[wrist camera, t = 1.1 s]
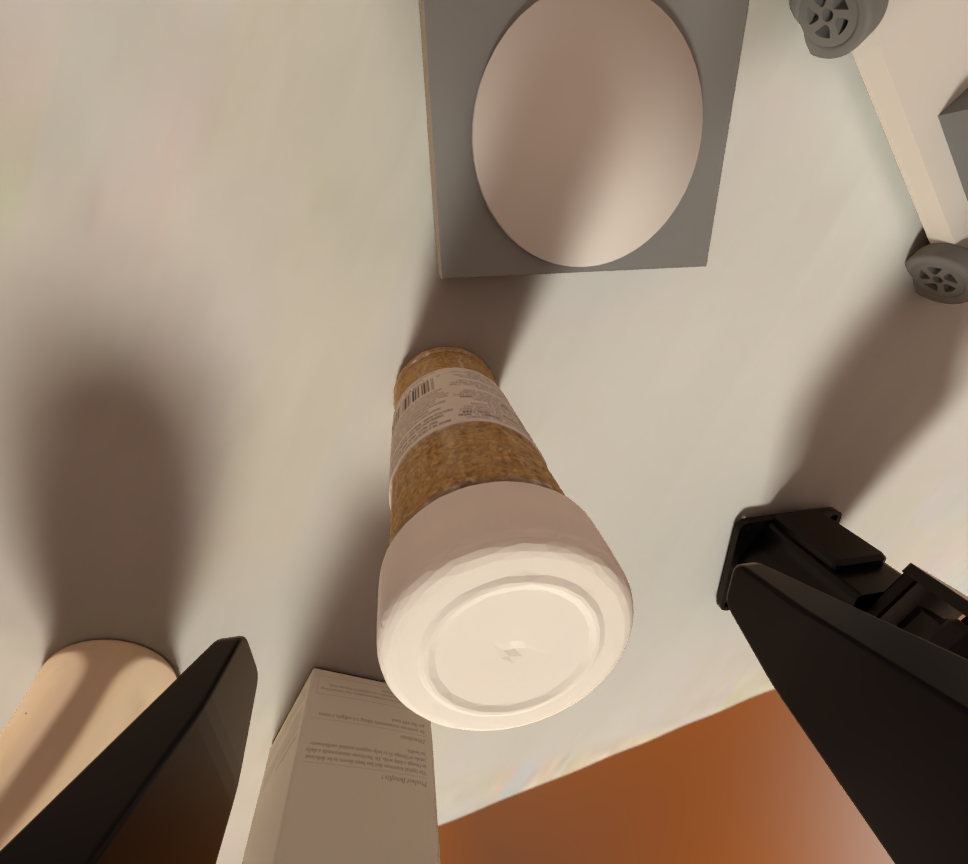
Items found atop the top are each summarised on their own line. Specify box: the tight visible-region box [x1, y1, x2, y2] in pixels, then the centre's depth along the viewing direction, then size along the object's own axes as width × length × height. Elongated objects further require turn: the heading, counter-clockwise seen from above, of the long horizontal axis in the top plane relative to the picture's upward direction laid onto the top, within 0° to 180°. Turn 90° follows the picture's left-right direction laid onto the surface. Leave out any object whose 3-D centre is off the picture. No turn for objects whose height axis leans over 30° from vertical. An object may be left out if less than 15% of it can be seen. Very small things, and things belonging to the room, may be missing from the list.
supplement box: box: [242, 668, 440, 864], centre depth 21 cm, size 7×7×13 cm
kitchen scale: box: [419, 0, 749, 279], centre depth 15 cm, size 12×10×3 cm
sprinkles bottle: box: [377, 347, 634, 731], centre depth 14 cm, size 5×5×14 cm
